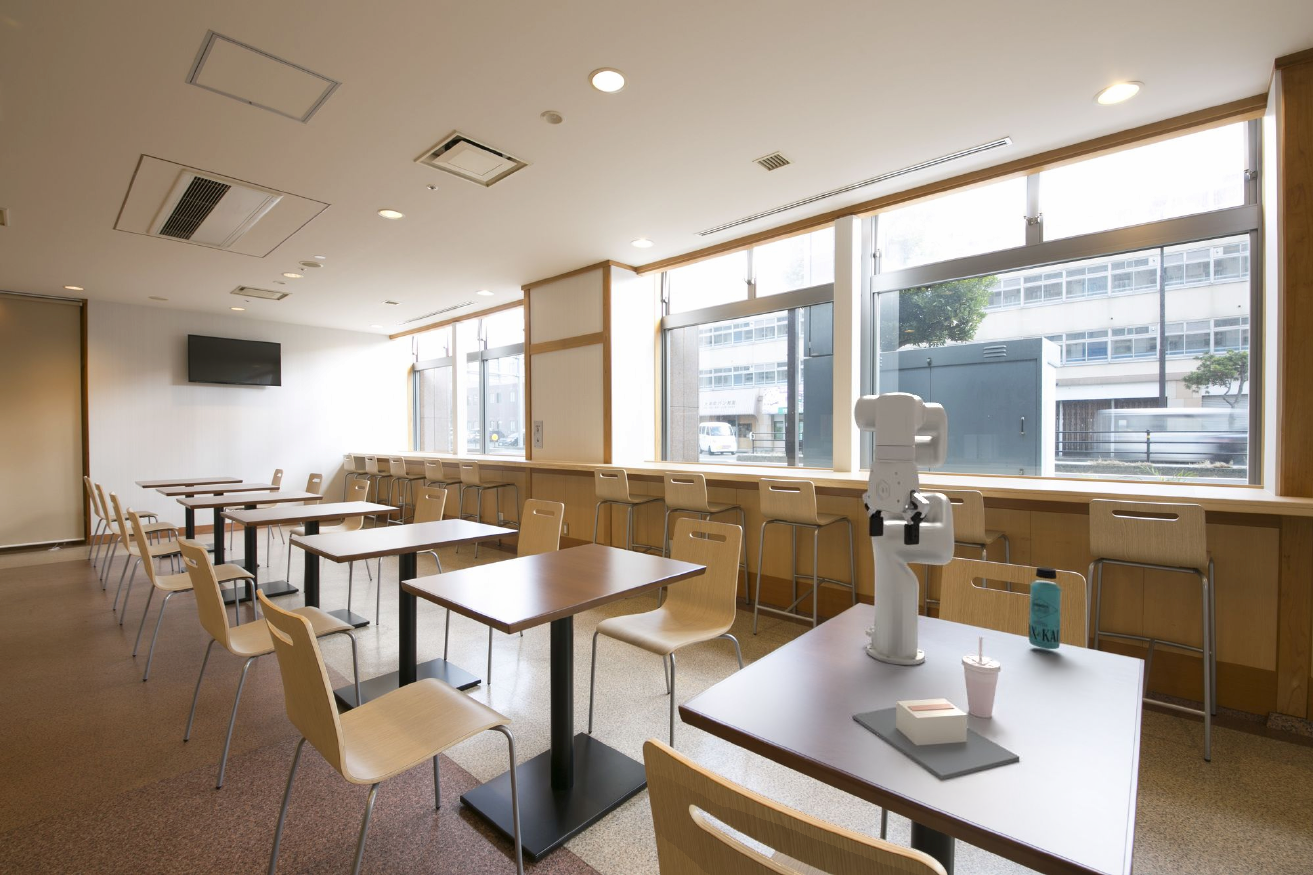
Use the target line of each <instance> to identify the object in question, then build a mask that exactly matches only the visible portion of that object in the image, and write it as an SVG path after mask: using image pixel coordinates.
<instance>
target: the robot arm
mask: <svg viewBox="0 0 1313 875" xmlns="http://www.w3.org/2000/svg"><path fill="white" fill-rule="evenodd" d="M853 416H854V421H855V424H856V427H857V428H858V429H859V430H860V431H862V432H870V433H874V449H873V450H874V451H873V453H874V454H873V455H874V460H872V462H871V464H870V469H869V476H868V482H867V483H868V484H867V491H865V492H863V493H862V496H861V497H862V500H863V503H864V504H863V505H864V509H865V510H866V511H867V512H866V515H867V517H868V519H869V520H868V521H869V522H868V523H869V524H868V532H869V533H868V535H869V537H871V545H872V551H873V560H874V561H873V562H874V612H873V613H874V616H873V617H874V619H873V620H874V621H873V622H874V623H873V624H874V625H873V626H871V627H869V629H867V630H865V635H866V636H868V637H869V638H871V641H870V643H869V644H867V645H866V652H867V654H868V656H870V657H873V659H876V660H878V661H881V662H884V663H888V664H895V665H901V666H914V665H920V664H922V663H923V662H925V660H926V654H925V652H924V651H923V650H922V649H920V648H918V647H919V646H918V645H919V641H918V639H919V594H920V593H919V591H920V585H919V580H918V577H917V576H916V574H915V573H914V571H913V570H912V569H911V568H910V567H909V565H908V563H909V564H914V563H915V564H923V565H925V564H926V565H932V566H933V565H935V566H943V565H947V564H950V562H951V561H952V560H953V558H954V554H955V532H954V528H955V527H954V516H953V515H954V513H953V507H952V503H951V500H950V498H948V496H947V495H946V494H943V493H940V492H932V491H921V490H920V478H919V472H918V471H919V470H918V468H922V469H924V468H927V469H929V468H930V469H936V468H940V467H942V466H943V465H944V464H945V463H946V459H947V450H948V428H949V427H948V426H949V425H948V416H947V412H946V410H945V408H944V407H943V406H942V405H941V404H940V403H936V402H924V400H923V399H922V398H921V397H920V396H918V395H916V394H915V395H914V394H911V393H907V392H891V393H890V392H889V393H887V392H886V393H881V394H874V395H861V396H860V397H859V398H858V399H857V400H856V402H855V404H854V410H853Z"/></svg>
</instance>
